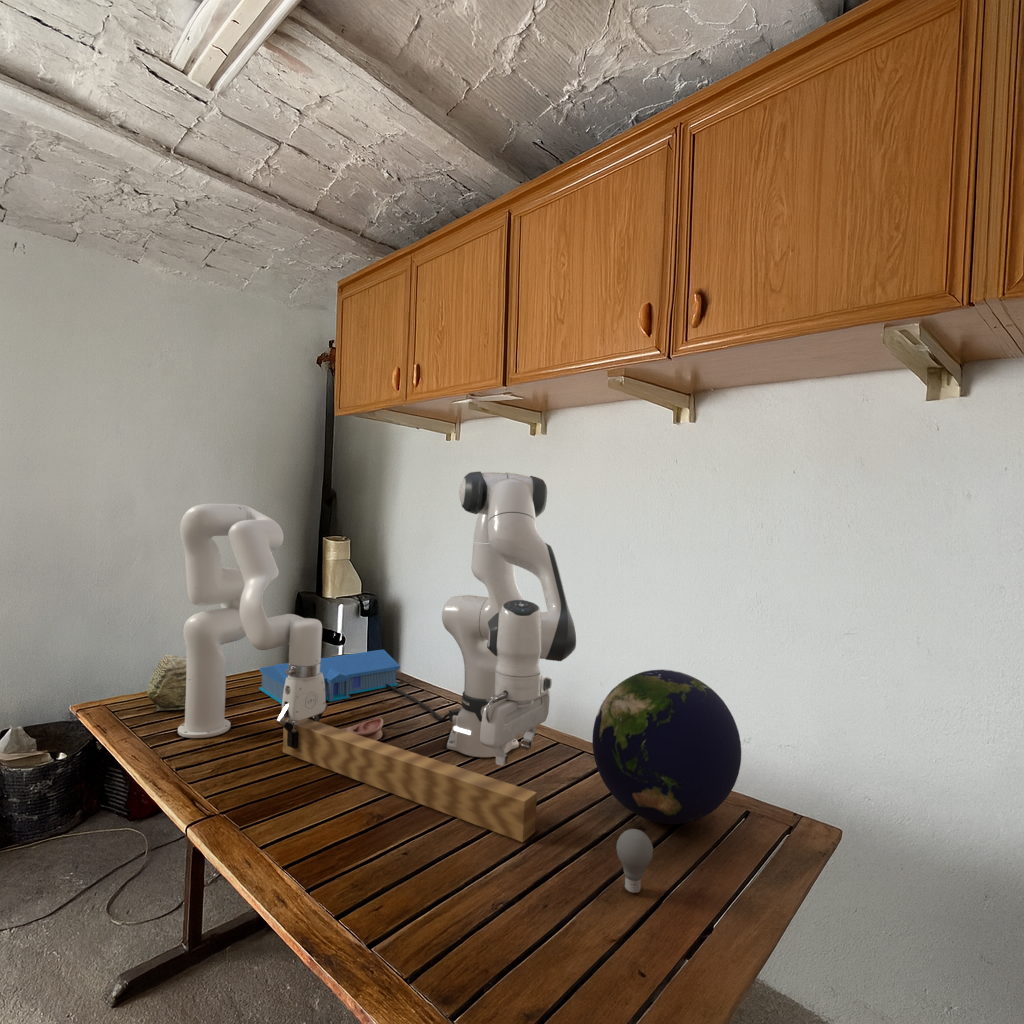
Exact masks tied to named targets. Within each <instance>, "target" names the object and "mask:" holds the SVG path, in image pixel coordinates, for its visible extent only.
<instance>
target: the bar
mask: <svg viewBox="0 0 1024 1024" xmlns="http://www.w3.org/2000/svg"><path fill="white" fill-rule="evenodd" d="M286 721H287V719H286ZM291 725H293V721H292V724H291ZM282 728H283V730H282V734H283V735H282V753H283V754H286V755H288V756H291V757H294V758H296V759H299V760H302V761H305V762H308V763H309V764H312V765H315V766H318V767H320V768H323V769H326V770H329V771H332V772H334V773H337V774H340V775H342V776H344V777H348V778H350V779H352V780H356V781H358V782H361V783H363V784H366V785H369V786H372V787H373V788H377V789H379V790H382V791H385V792H387V793H389V794H393V795H395V796H398V797H401V798H403V799H406V800H409V801H411V802H414V803H417V804H420V805H422V806H424V807H426V808H430V809H432V810H435V811H438V812H441V813H443V814H445V815H449V816H451V817H454V818H457V819H459V820H462V821H465V822H467V823H470V824H473V825H475V826H478V827H481V828H483V829H486V830H489V831H491V832H494V833H497V834H499V835H501V836H502V835H503V836H504V837H508V838H509V839H513V840H515V841H518V842H521V843H523V842H525V841H526V840H528V839H529V838H530V837H531V836H532V835H533V834H534V833H536V824H537V823H536V821H537V820H536V819H537V801H538V799H537V798H538V791H534V790H531V789H528V788H525V787H522V786H518V785H515V784H512V783H509V782H506V781H502V780H500V779H495V778H493V777H490V776H487V775H485V774H480V773H478V772H475V771H471V770H468V769H465V768H463V767H459V766H457V765H453V764H450V763H446V762H444V761H442V760H441V761H440V760H437V759H434V758H432V757H429V756H425V755H422V754H419V753H416V752H413V751H409V750H407V749H404V748H400V747H397V746H394V745H392V744H387V743H385V742H382V741H378V740H372V739H369V738H366V737H363V736H360V735H357V734H354V733H351V732H348V731H345V730H341V729H342V728H338V727H335V726H332V725H329V724H326V723H322V722H320V721H319V722H317V721H313V720H310V719H303V720H300V721H299V722H298V726H297V730H296V731H297V732H298V748H296V749H294V748H291V747H289V746H287V732H288V731H287V730H285V728H284V727H282Z"/></svg>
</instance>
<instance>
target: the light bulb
mask: <svg viewBox="0 0 1024 1024" xmlns="http://www.w3.org/2000/svg"><path fill="white" fill-rule="evenodd" d="M615 849H616V854H617V857H618V859H619V861H620V863H621V865H622V867H623V873H624V874H623V875H624V876H625V878H624V888H625V890H627V891H628V892H630V893H634V894H635V893H639V892H640V891H641V889H642V887H641V886H642V879H643V877H644V875H645V871H646V868H647V867H648V866H649V864H650V863H651V861H652V859H653V855H654V847H653V843H652V841H651V838H649V836H648V835H647V834H646V833H645V832H643V831H642V830H641V829H636V828H629V829H627V830H625V831H623V832H622V833H621V834H620V835H619V837H618V839H617V841H616V847H615Z"/></svg>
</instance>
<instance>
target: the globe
mask: <svg viewBox="0 0 1024 1024" xmlns="http://www.w3.org/2000/svg"><path fill="white" fill-rule="evenodd" d="M592 753H593V758H594V763H595V765H596V768H597V772H598V774H599V775H600V778H601V780H602V782H603V783H604V785H605V787H606V788H607V790H608V791H609V792H610V794H611V795H612V796H613V797H614V799H616V801H618V802H619V803H620V804H621V805H622V806H623V807H625V808H626V809H627V810H629V812H631V813H633V814H635V815H637V816H638V817H641V818H643V819H645V820H648V821H651V822H654V823H659V824H664V825H665V824H666V825H681V824H687V823H691V822H695V821H698V820H700V819H702V818H704V817H706V816H708V815H710V814H711V813H713V812H714V811H715V810H717V808H720V806H721V805H722V804H723V803H724V801H726V799H727V798H728V797H729V795H730V794H731V792H732V791H733V788H734V787H735V785H736V783H737V780H738V777H739V774H740V770H741V765H742V742H741V736H740V732H739V728H738V725H737V723H736V720H735V718H734V716H733V714H732V711H731V710H730V709H729V707H728V706H727V704H726V703H725V701H724V700H723V698H721V696H719V694H718V693H717V692H716V691H715V690H714V689H712V688H711V686H709V685H707V684H706V683H705V682H703V681H701V680H700V679H698V678H696V677H694V676H692V675H690V674H688V673H684V672H682V671H676V670H672V669H665V668H664V669H650V670H645V671H640V672H638V673H636V674H633V675H631V676H629V677H627V678H626V679H624V680H622V681H621V682H619V683H618V684H617V685H616V686H615V687H613V688H612V689H611V690H610V691H609V693H608V694H607V695H606V696H605V698H604V699H603V701H602V702H601V705H600V706H599V708H598V711H597V713H596V716H595V719H594V723H593V728H592Z"/></svg>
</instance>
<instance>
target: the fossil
mask: <svg viewBox="0 0 1024 1024" xmlns="http://www.w3.org/2000/svg"><path fill="white" fill-rule="evenodd" d="M186 666H187V657H186V656H183V657H182V656H178V655H175V654H174V655H173V654H165V655H164V656H163V657H162V658H161V659H160V660H159V662H158V663H157V666H156V667H155V669H154V670H153V672H152V675H151V677H150V680H149V684H148V688H147V697H148V699H149V700H150V701H152V703H153V704H154V706H155V711H158V712H159V711H162V712H163V711H177V710H185V701H186Z"/></svg>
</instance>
